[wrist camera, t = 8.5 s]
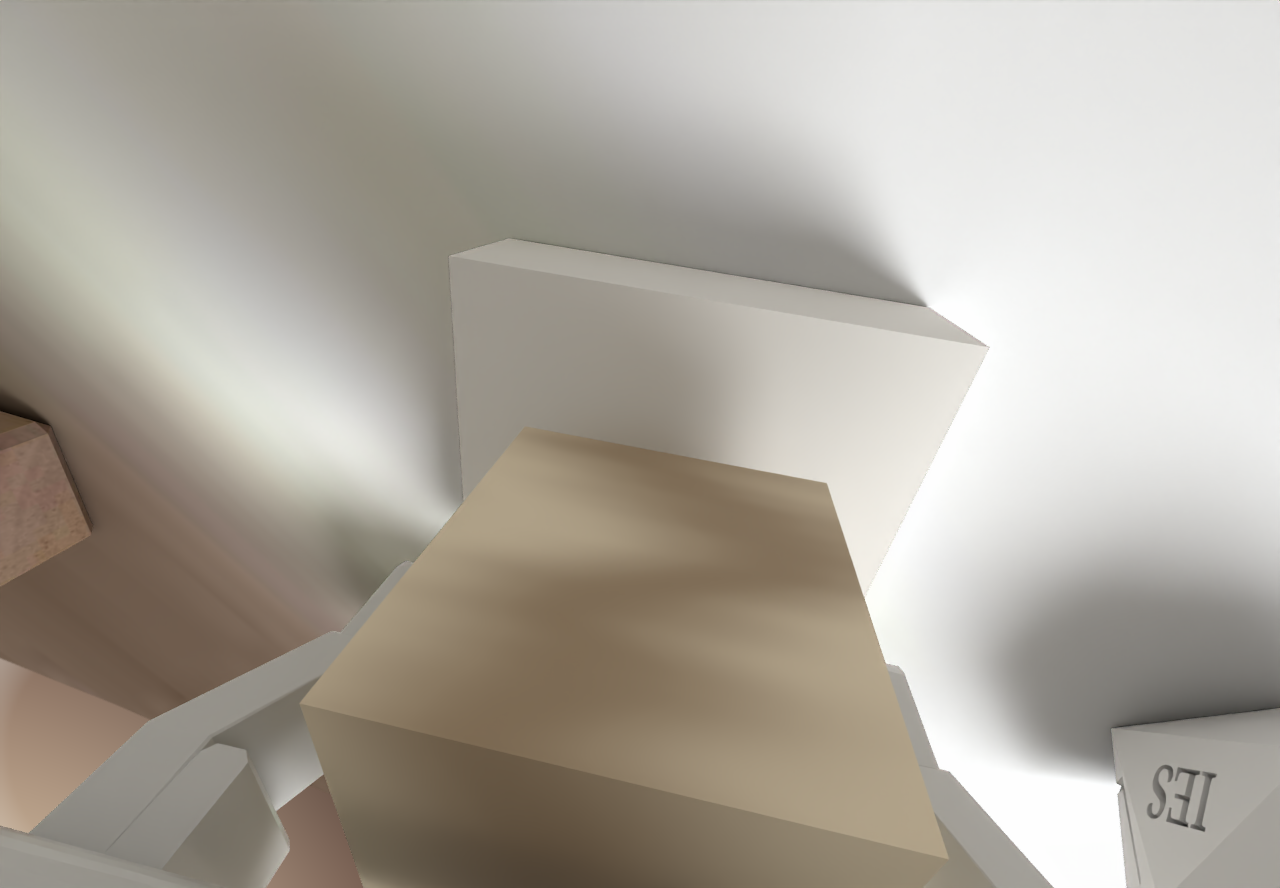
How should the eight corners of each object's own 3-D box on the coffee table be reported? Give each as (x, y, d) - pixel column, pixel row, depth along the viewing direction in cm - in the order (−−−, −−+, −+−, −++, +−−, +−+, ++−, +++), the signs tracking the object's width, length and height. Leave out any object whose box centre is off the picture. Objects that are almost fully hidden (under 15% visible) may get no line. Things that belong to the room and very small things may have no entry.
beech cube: (826, 483, 9) (949, 858, 4) (752, 680, 11) (771, 1047, 7) (525, 426, 9) (299, 702, 4) (522, 629, 12) (382, 940, 7)
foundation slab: (929, 307, 11) (989, 347, 9) (802, 611, 16) (816, 694, 14) (509, 238, 12) (448, 255, 9) (509, 548, 17) (469, 616, 14)
